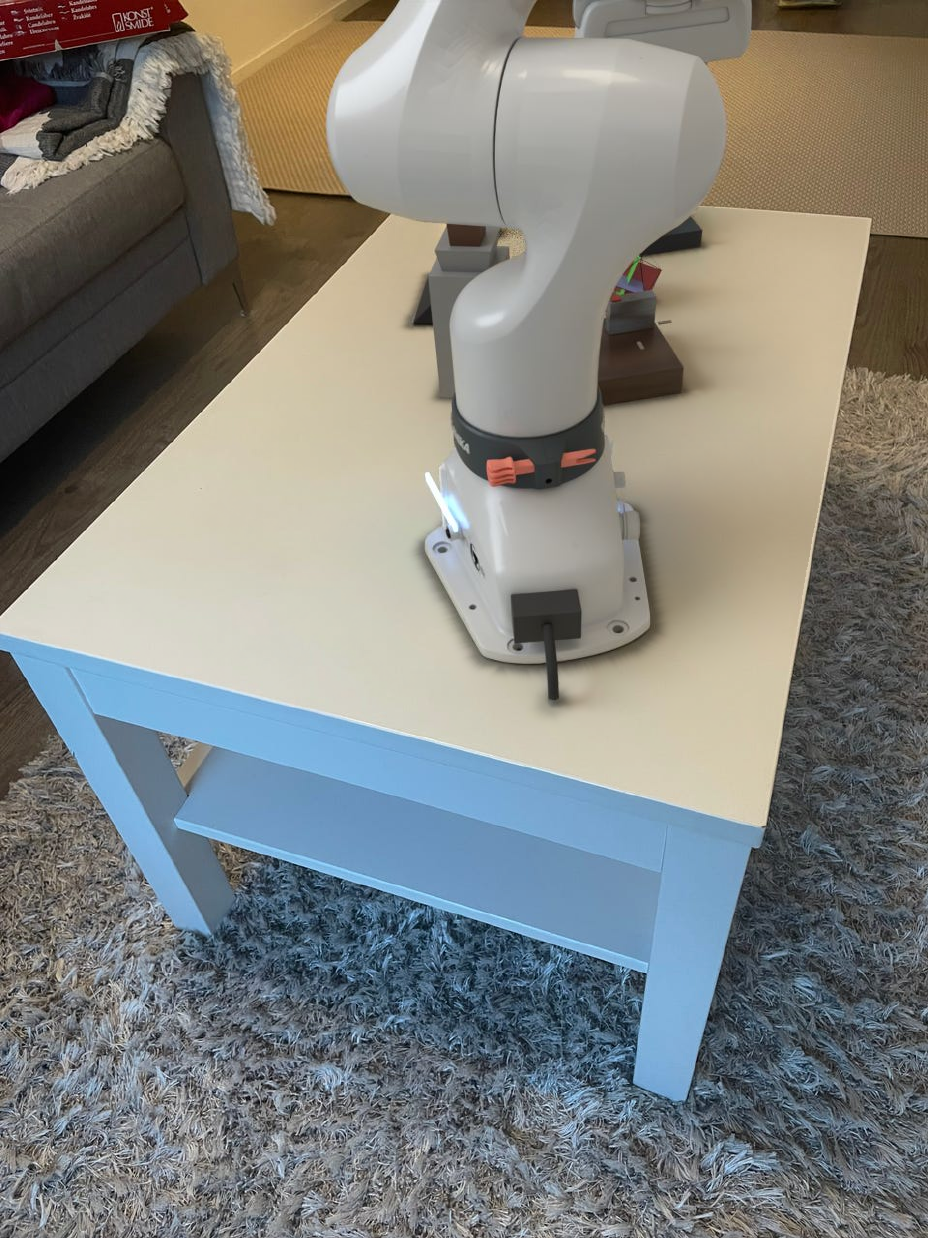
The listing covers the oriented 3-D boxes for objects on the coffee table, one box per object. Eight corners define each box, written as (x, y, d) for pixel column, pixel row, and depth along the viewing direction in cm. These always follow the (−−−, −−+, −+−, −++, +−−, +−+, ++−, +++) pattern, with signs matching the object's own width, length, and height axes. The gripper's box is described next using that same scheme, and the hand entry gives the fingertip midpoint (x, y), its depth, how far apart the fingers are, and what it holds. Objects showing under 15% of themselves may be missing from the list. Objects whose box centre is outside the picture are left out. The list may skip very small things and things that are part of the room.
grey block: (649, 320, 104) (652, 287, 101) (654, 327, 103) (657, 294, 100) (605, 327, 104) (606, 294, 101) (609, 335, 103) (610, 301, 100)
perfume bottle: (503, 400, 101) (495, 231, 88) (440, 397, 102) (423, 229, 89) (513, 366, 105) (507, 200, 92) (453, 363, 107) (439, 199, 94)
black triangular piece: (472, 326, 112) (469, 289, 109) (410, 326, 113) (406, 289, 110) (484, 275, 121) (481, 239, 117) (426, 275, 122) (422, 240, 118)
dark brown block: (696, 390, 100) (699, 363, 97) (587, 407, 99) (588, 380, 96) (655, 326, 109) (657, 300, 107) (555, 342, 108) (555, 316, 106)
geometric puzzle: (671, 270, 114) (633, 217, 110) (674, 298, 109) (634, 244, 105) (621, 305, 117) (582, 255, 113) (621, 333, 113) (580, 282, 109)
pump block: (700, 246, 122) (704, 215, 119) (624, 258, 121) (625, 226, 118) (670, 209, 130) (672, 178, 127) (598, 219, 130) (599, 189, 127)
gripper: (580, -11, 102) (578, 128, 112) (765, -35, 104) (747, 104, 113) (565, -24, 107) (565, 110, 116) (743, -47, 108) (728, 87, 118)
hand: (656, 107), depth 115 cm, fingers open, 6 cm apart
